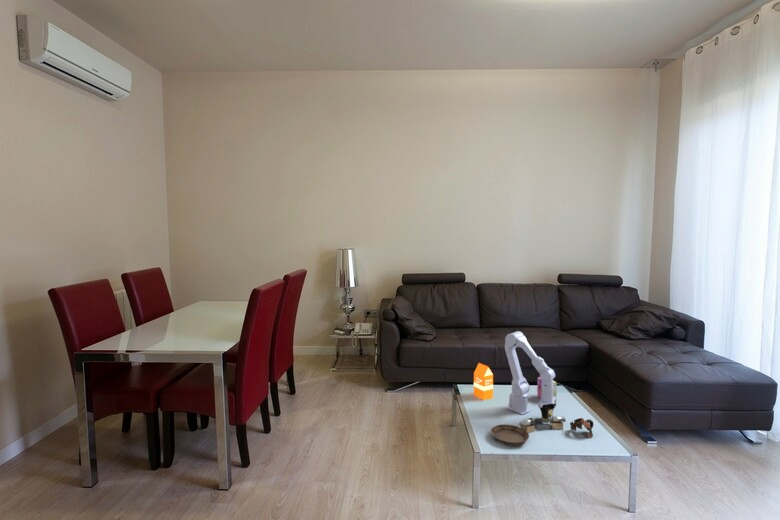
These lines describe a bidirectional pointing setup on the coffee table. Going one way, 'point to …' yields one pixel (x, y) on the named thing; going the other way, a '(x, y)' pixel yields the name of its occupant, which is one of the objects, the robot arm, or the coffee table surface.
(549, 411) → the block
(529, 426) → the shaft
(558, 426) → the shaft
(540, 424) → the cradle
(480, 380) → the orange juice
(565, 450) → the coffee table surface
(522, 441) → the plant saucer
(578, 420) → the pottery mug
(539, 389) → the box
